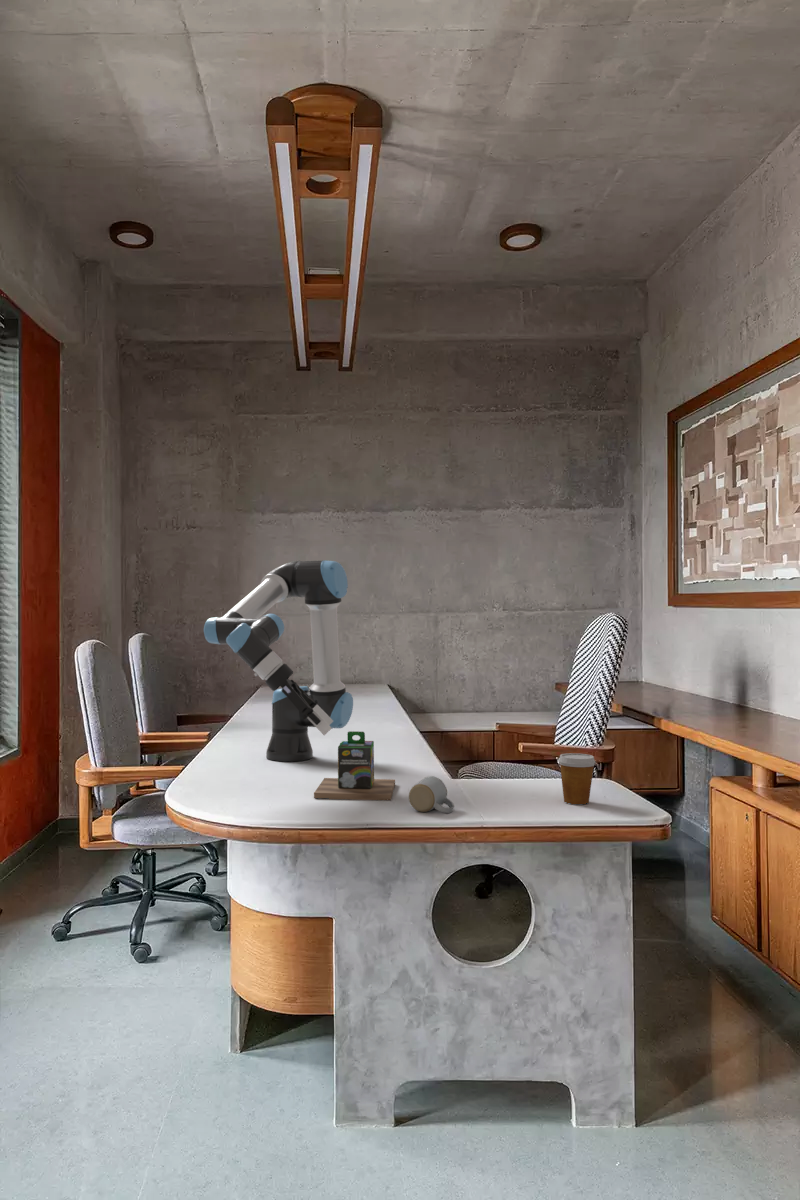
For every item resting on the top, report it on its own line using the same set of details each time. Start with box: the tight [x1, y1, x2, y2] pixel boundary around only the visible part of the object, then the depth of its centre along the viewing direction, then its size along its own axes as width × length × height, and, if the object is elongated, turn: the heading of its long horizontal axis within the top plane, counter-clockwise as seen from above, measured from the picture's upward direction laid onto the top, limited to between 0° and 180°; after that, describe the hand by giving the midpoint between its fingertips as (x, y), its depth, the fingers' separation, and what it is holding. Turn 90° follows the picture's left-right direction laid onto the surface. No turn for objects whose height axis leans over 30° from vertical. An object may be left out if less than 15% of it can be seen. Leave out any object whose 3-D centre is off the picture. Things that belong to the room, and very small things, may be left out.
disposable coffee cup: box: [557, 752, 596, 805], centre depth 231 cm, size 10×10×12 cm
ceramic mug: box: [408, 775, 455, 814], centre depth 220 cm, size 11×8×8 cm
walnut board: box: [313, 777, 396, 801], centre depth 241 cm, size 20×20×2 cm
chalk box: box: [337, 730, 375, 789], centre depth 242 cm, size 9×9×15 cm
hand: (329, 728), depth 241 cm, fingers open, 13 cm apart
